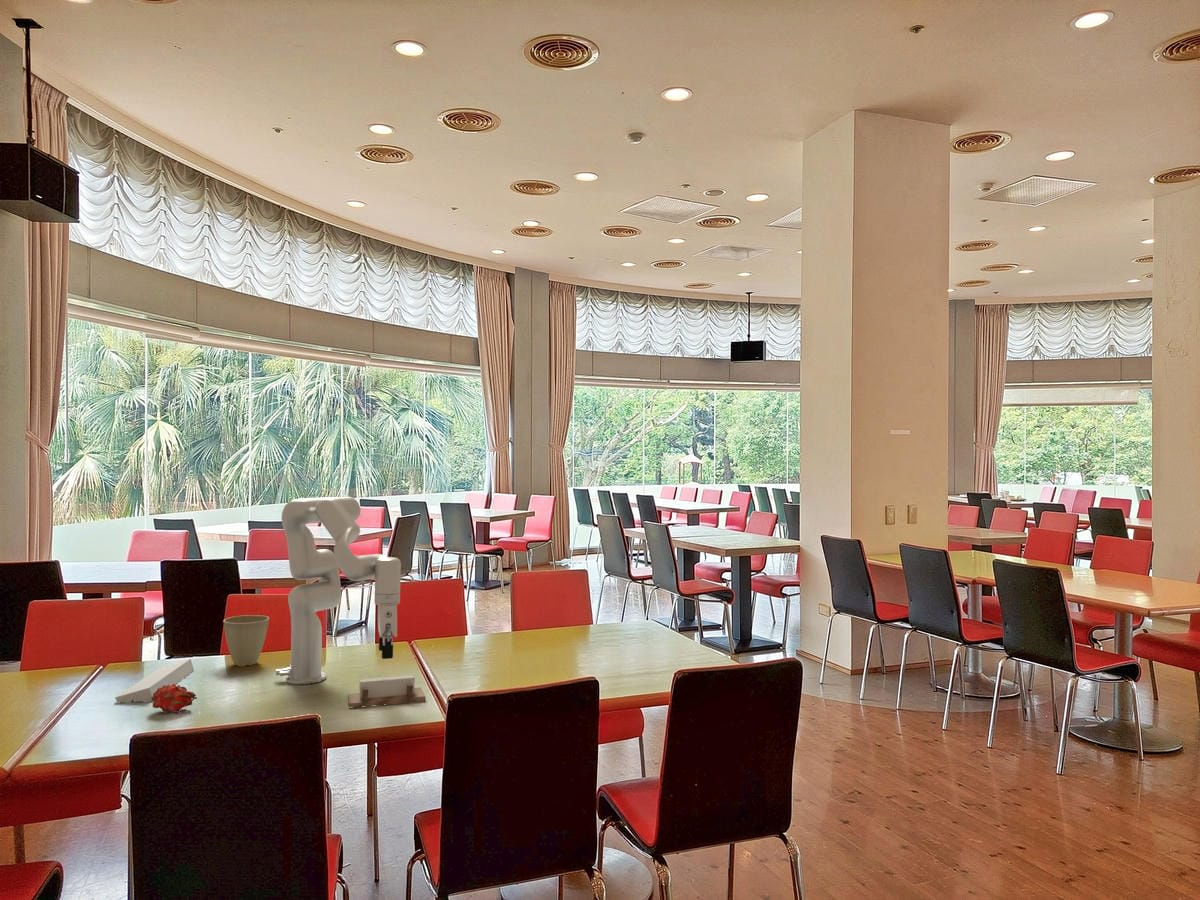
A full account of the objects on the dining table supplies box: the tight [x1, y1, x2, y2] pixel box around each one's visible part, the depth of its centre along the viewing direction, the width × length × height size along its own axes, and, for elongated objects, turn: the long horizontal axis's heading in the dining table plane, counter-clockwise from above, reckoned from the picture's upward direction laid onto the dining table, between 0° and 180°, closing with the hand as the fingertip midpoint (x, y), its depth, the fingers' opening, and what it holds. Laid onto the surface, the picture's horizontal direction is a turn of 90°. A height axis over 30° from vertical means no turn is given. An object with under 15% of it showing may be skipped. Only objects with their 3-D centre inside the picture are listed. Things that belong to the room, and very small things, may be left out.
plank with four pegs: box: [347, 684, 426, 708], centre depth 244 cm, size 22×10×5 cm, turn 110°
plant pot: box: [223, 614, 270, 667], centre depth 284 cm, size 15×15×16 cm
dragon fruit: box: [151, 684, 198, 714], centre depth 232 cm, size 8×8×12 cm
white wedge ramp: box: [114, 658, 195, 703], centre depth 256 cm, size 34×5×10 cm
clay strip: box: [358, 674, 416, 699], centre depth 244 cm, size 16×3×5 cm, turn 110°
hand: (385, 654), depth 244 cm, fingers open, 9 cm apart
